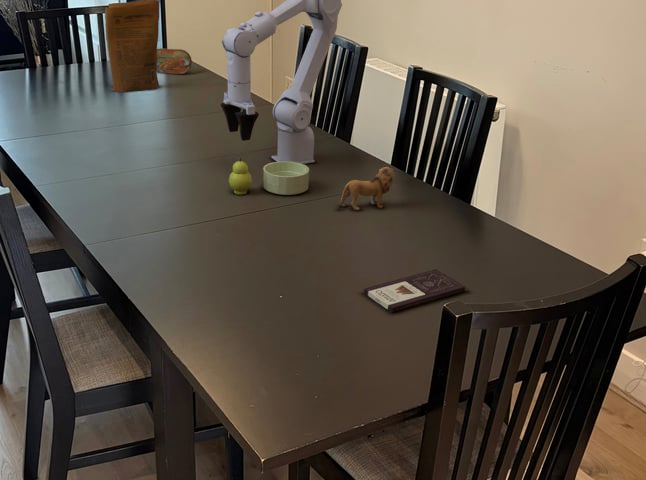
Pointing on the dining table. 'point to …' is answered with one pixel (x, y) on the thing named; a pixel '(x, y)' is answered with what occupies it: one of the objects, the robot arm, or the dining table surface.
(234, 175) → the pear
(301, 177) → the bowl
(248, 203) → the dining table surface
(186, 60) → the tin
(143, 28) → the pancake mix bag
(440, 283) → the chocolate bar
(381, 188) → the lion figurine
